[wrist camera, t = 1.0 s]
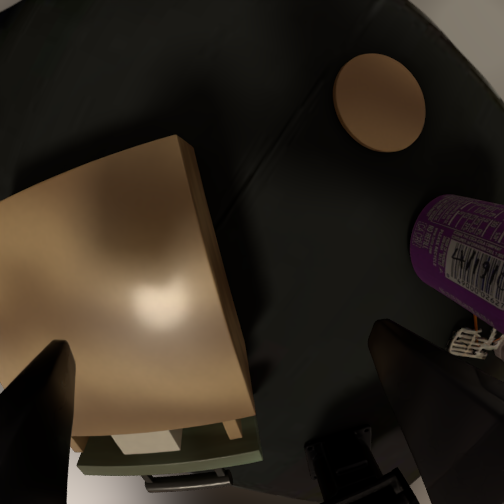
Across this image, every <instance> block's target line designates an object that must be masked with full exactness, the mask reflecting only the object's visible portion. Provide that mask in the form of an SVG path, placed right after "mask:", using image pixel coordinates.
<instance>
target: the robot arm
mask: <svg viewBox="0 0 504 504" xmlns="http://www.w3.org/2000/svg"><path fill="white" fill-rule="evenodd" d="M368 347H369V350H370V353H371V356H372V359H373V361H374V364H375V367H376V370H377V373H378V376H379V379H380V382H381V384H382V387H383V389H384V392H385V394H386V396H387V398H388V400H389V403H390V405H391V407H392V409H393V411H394V414H395V416H396V418H397V420H398V423H399V425H400V427H401V430H402V432H403V434H404V436H405V439H406V441H407V443H408V446H409V448H410V451H411V453H412V455H413V458H414V460H415V463H416V465H417V467H418V470H419V472H420V475H421V477H422V480H423V482H424V485H425V487H426V490H427V493H428V495H429V498H430V501H431V503H432V504H504V382H502V381H500V380H498V379H496V378H494V377H492V376H490V375H488V374H486V373H485V372H483V371H481V370H479V369H477V368H475V367H474V366H472V365H470V364H469V363H467V362H465V361H463V360H461V359H460V358H458V357H456V356H454V355H452V354H451V353H449V352H447V351H445V350H444V349H442V348H440V347H438V346H436V345H435V344H433V343H431V342H429V341H427V340H426V339H424V338H422V337H420V336H418V335H417V334H415V333H413V332H411V331H410V330H408V329H406V328H404V327H402V326H401V325H399V324H397V323H395V322H393V321H392V320H390V319H380V320H377V321H376V322H375V323H374V325H373V328H372V331H371V333H370V336H369V338H368ZM75 376H76V363H75V359H74V356H73V354H72V351H71V349H70V346H69V343H68V342H67V341H66V340H58V339H55V340H52V341H51V342H50V343H49V344H48V345H47V346H46V347H45V348H44V349H43V350H42V351H41V352H40V353H39V354H38V355H37V356H36V357H35V358H34V359H33V360H32V361H31V362H30V363H29V364H28V365H27V366H26V367H25V368H24V369H23V370H22V371H21V372H20V373H19V374H18V376H17V377H16V378H15V379H14V380H13V381H12V382H11V383H10V384H9V385H8V386H7V387H6V388H5V389H4V391H3V392H2V393H1V394H0V504H67V502H66V501H67V479H68V466H69V453H70V444H71V435H72V426H73V417H74V395H75ZM304 448H305V453H306V457H307V462H308V467H309V471H310V476H311V479H312V480H316V479H317V480H318V483H319V487H320V490H321V493H322V496H323V499H324V502H323V503H320V504H419V502H418V500H417V498H416V496H415V494H414V493H413V491H412V489H411V488H410V486H409V485H408V483H407V481H406V480H405V478H404V477H403V475H402V473H401V472H400V470H399V469H398V467H397V468H395V469H393V470H392V471H391V472H389V473H387V474H385V475H383V474H382V472H381V471H380V469H379V467H378V465H377V463H376V461H375V459H374V457H373V455H372V453H371V427H370V425H369V424H366V425H363V426H360V427H357V428H354V429H351V430H348V431H345V432H342V433H339V434H336V435H333V436H330V437H327V438H323V439H320V440H317V441H313V442H309V443H307V444H305V446H304Z"/></svg>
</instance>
